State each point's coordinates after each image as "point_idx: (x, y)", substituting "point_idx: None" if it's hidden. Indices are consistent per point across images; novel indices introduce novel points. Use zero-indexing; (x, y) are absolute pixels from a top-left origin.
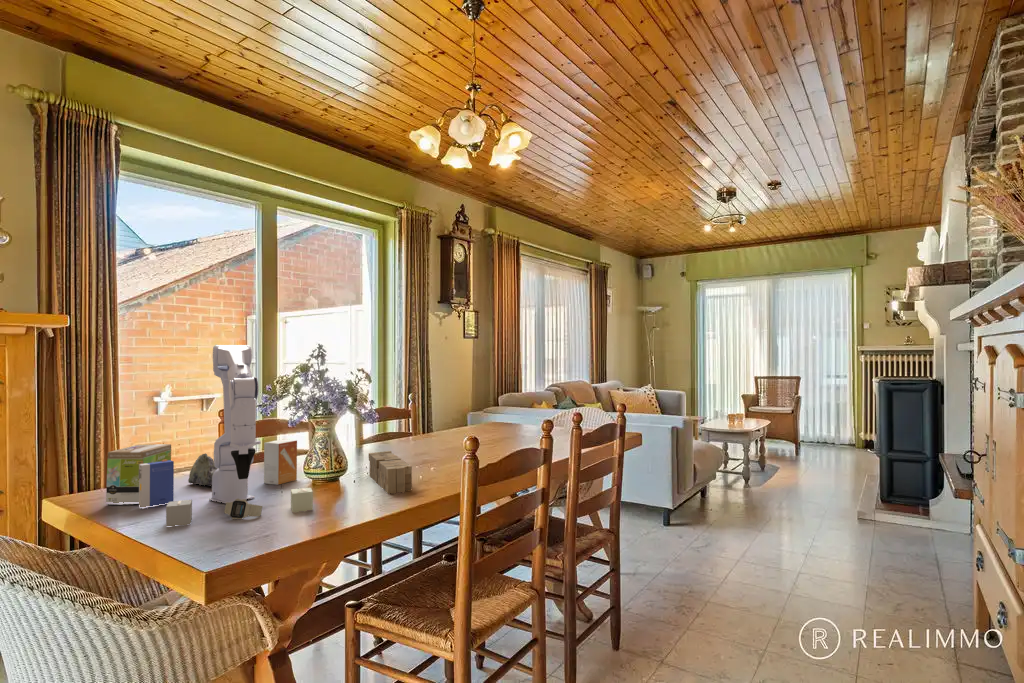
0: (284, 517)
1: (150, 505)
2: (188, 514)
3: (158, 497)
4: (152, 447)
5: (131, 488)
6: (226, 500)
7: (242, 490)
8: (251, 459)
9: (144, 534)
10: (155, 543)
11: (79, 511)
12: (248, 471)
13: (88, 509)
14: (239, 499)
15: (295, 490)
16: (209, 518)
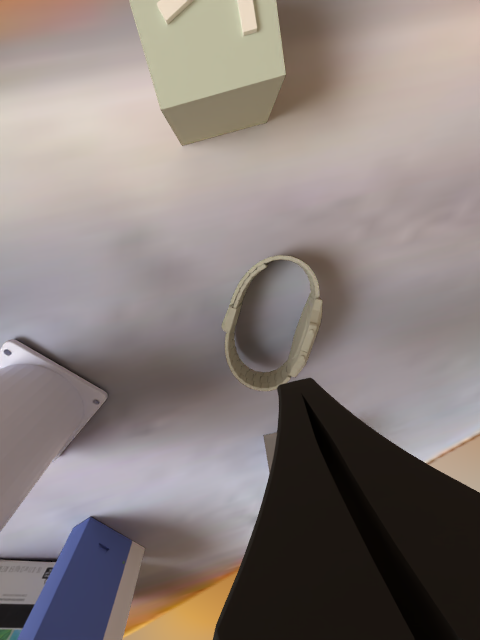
0: (334, 148)
1: (129, 547)
2: None
3: (108, 560)
4: None
5: None
6: (82, 412)
7: (31, 391)
8: (469, 489)
9: None
10: (449, 439)
11: (147, 614)
12: (340, 405)
13: (133, 610)
14: (303, 350)
15: (194, 64)
16: (266, 399)
